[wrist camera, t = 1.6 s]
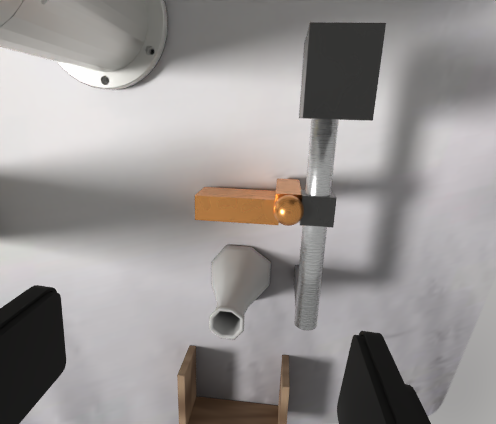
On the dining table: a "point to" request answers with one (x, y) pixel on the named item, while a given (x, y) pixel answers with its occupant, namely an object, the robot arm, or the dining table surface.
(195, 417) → the box
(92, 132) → the dining table surface
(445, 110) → the dining table surface
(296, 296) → the rod bearing post
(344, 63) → the rod
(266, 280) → the flask
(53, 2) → the robot arm
